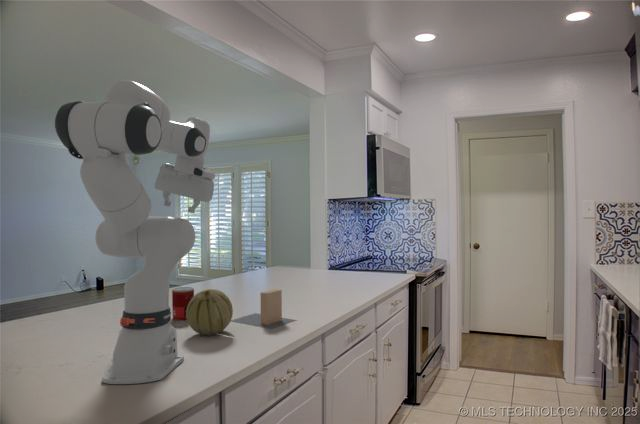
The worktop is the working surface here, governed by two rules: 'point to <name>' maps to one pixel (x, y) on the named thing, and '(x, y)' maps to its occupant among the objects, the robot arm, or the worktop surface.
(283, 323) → the mat
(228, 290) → the worktop surface
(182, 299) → the canned food
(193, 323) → the cantaloupe
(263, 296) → the block
